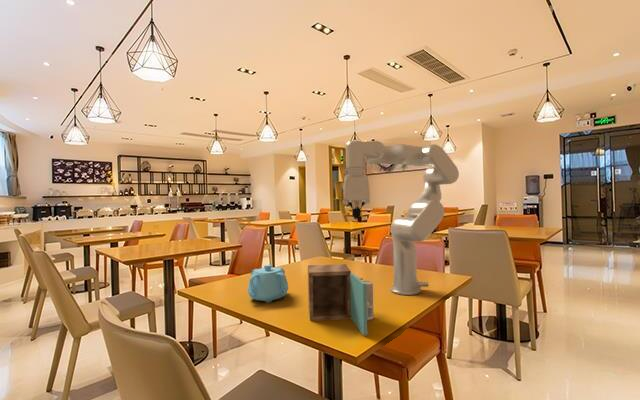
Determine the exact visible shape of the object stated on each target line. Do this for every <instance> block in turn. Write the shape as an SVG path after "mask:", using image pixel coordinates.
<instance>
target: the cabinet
mask: <svg viewBox="0 0 640 400" xmlns="http://www.w3.org/2000/svg"><path fill="white" fill-rule="evenodd" d="M350 273H352V271H351V269H350V268H349V267H348V265H347V264H346V263H337V264H332V263H331V264H308V265H307V290H308V313H309V314H308V315H309V321H311V322H312V321H331V320H332V321H333V320H352V319H351V297H350Z"/></svg>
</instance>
